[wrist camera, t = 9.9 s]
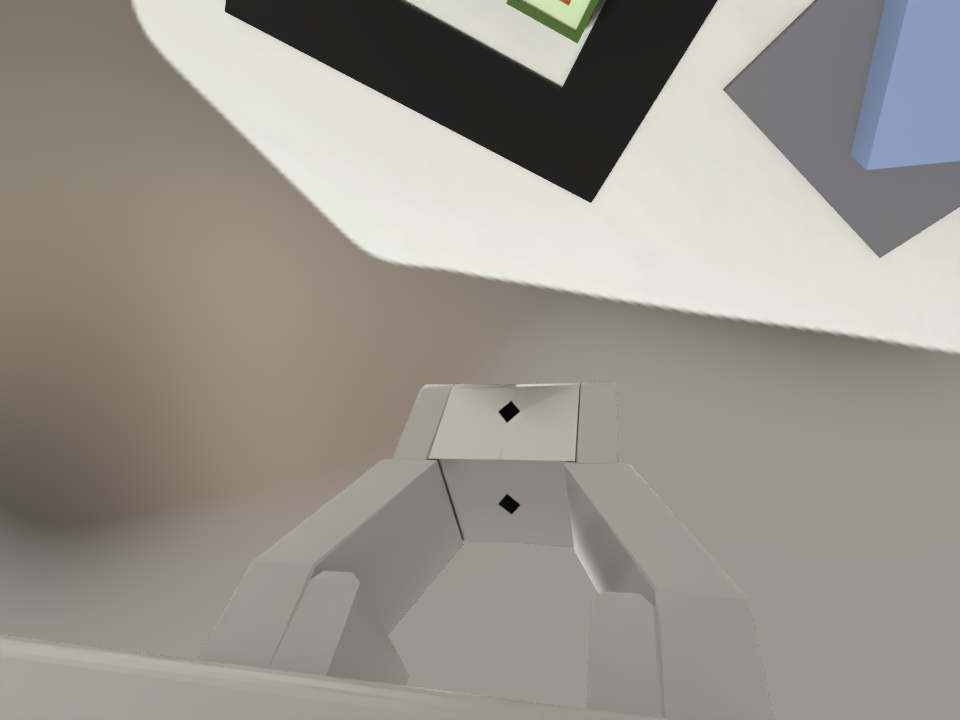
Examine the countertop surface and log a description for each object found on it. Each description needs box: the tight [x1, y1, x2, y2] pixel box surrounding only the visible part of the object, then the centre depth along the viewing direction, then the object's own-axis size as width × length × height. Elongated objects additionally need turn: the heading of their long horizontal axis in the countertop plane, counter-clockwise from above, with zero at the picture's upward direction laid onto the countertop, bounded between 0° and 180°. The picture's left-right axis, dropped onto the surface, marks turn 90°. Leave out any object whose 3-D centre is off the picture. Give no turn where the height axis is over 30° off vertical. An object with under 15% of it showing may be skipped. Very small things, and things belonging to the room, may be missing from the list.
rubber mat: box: [723, 0, 960, 258], centre depth 28 cm, size 16×15×1 cm
